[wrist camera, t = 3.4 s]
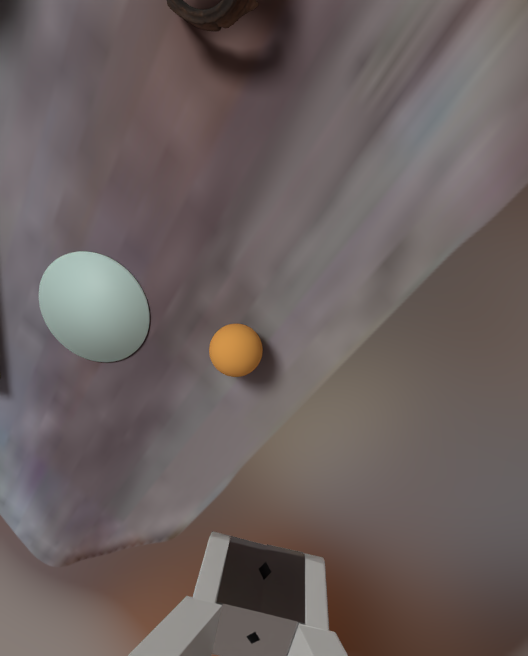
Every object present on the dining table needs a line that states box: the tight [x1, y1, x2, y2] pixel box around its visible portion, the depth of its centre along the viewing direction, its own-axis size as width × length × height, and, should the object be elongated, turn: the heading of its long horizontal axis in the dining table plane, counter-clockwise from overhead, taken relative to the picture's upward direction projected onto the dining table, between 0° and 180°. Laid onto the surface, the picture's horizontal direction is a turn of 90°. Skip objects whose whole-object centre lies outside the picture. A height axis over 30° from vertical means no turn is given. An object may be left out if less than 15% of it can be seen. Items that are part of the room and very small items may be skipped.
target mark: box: [39, 251, 150, 362], centre depth 39 cm, size 13×13×1 cm
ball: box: [209, 324, 263, 377], centre depth 36 cm, size 6×6×6 cm
